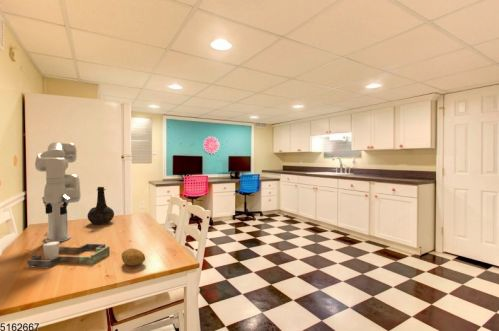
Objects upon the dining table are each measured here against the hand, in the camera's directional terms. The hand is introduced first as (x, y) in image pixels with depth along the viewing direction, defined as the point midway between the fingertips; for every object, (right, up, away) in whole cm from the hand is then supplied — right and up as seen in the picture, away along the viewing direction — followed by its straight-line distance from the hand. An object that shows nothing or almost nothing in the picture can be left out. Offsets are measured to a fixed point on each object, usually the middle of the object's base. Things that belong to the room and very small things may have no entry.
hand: (56, 213), depth 138 cm
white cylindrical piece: (+1, -21, -5) cm, 22 cm away
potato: (+47, -22, -14) cm, 53 cm away
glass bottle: (-11, -19, +61) cm, 65 cm away
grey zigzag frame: (+12, -21, -6) cm, 25 cm away
